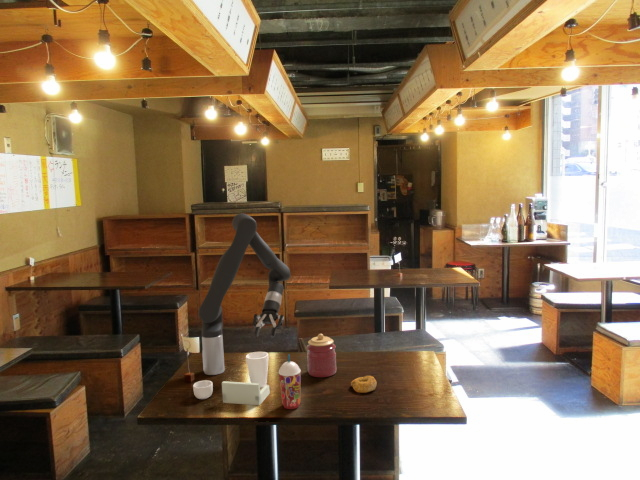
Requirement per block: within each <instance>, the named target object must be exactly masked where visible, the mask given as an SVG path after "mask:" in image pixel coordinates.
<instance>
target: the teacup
mask: <svg viewBox="0 0 640 480" xmlns="http://www.w3.org/2000/svg"><path fill="white" fill-rule="evenodd" d="M213 387H214V385H213V381H211V380H207V379H205V380H199V381H196V382H194V383H193V385H192V388H193V394H194V396H195V398H196V399H199V400H206V399H208V398H209V397H211V396H212V394H213V390H214V388H213ZM209 399H210V398H209Z"/></svg>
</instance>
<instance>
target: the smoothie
mask: <svg viewBox="0 0 640 480" xmlns="http://www.w3.org/2000/svg"><path fill="white" fill-rule="evenodd" d="M301 372H302V370H301V368H300V366H299V365H298V364H297V363H296V361H295V362H294V361H291V355H290V354H287V361H285V362H283V363H282V365H280V368H279V370H278V375H279V376H278V378H279V385H280V395H281V402H282V403H281V405H283V408H284V409H286V410H294V409H297V408H299V406H300V403H301V382H302V381H301V380H302V377H301V375H302V374H301Z"/></svg>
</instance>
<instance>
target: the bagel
mask: <svg viewBox="0 0 640 480" xmlns="http://www.w3.org/2000/svg"><path fill="white" fill-rule="evenodd" d="M350 385H351V387H352V388H353V391H355V392H356V393H364V394H365V393H369V392H373V391H375V390H376V387H377V379H375V377H374V376H372V375H365V376H359V377H357V378H354V379H353V380H352V381H351V382H350Z"/></svg>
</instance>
